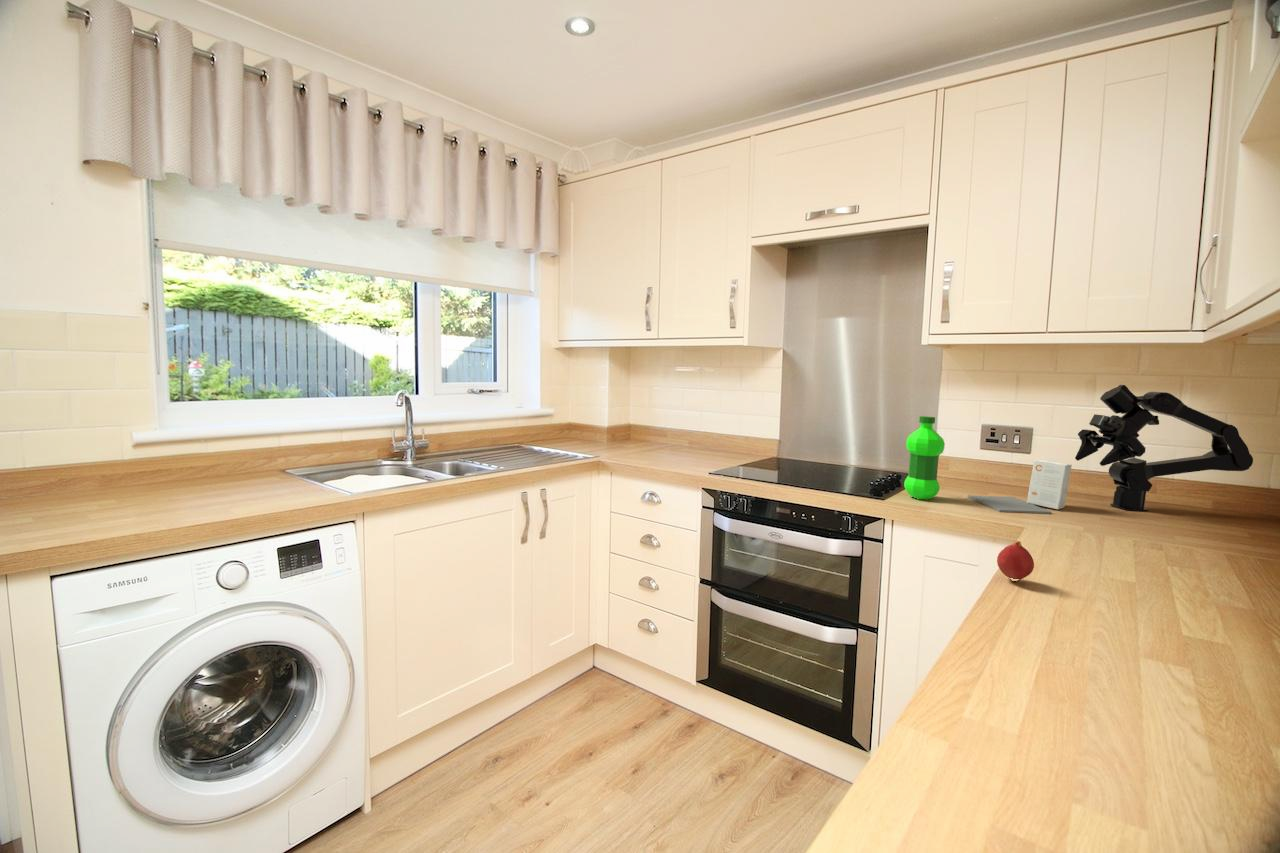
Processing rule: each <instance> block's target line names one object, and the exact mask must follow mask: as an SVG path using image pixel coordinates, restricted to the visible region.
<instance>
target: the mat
mask: <svg viewBox="0 0 1280 853" xmlns="http://www.w3.org/2000/svg"><path fill="white" fill-rule="evenodd" d="M968 497H969V499H971V500H972V501H973V500H974V501H975V502H977V503H980V504H981V503H982V505H983V506H987V507H988V508H990V509H992V508H993V510H995V511H997V512H999V511H1000V512H1001V513H1014V512H1023V513H1022V514H1041V515H1051V514H1052V511H1051V510H1047V509H1045V508H1043V507H1041V506H1039V505H1035V504H1030V503H1027V501H1024V500H1023V499H1021V498H1017V497H1015V496H999V495H998V496H996V495H995V496H994V495H993V496H992V495H975V494H974V495H969V494H968V495H967V498H968ZM1000 512H999V513H1000Z"/></svg>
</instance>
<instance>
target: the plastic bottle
mask: <svg viewBox="0 0 1280 853" xmlns="http://www.w3.org/2000/svg"><path fill="white" fill-rule="evenodd" d="M918 419H919V420H918V423H920V427H919V428H918V429H917V430H915V431H913V432H912V433H911V434H909V435H908V436H907V438H906V443H905V444H906V446H905V447H906V450H907V451H908V452H909V463H908V475H907V477H906V478H905V479H904V484H903V486H904V489H905V491H906V492H907V494H908V495H909V496H910V497H911V496H912V497H914V498H918V499H917V500H919V499H930V500H931V499H933V498H934V497H935V496H937V495H938V494H939V492H940V487H941V486H940V483H939V481H938V470H939V458H940V457H939V456H941V454H943V453H944V450H945V440H944V439H943V437H942V436H940V434H939V433H938V432H937V431H935V430H934V429H933V426H934V424H935V423H936V417H935V416H927V415H926V416H925V415H921V416H919V418H918ZM912 497H911V498H912ZM914 498H913V499H914Z"/></svg>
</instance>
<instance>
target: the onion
mask: <svg viewBox="0 0 1280 853" xmlns="http://www.w3.org/2000/svg"><path fill="white" fill-rule="evenodd" d="M1021 542H1022V541H1020V540H1016V541H1014V542H1013V543H1012V544H1010V545H1009V544H1008V545H1007V546H1005V547H1004V548H1003V549H1001V551H1000V552H999V553H998V555H997V560H996V563H997V567H998V568H999V570H1000V572H1001V573H1002V574H1003V575H1004V576H1005V577H1006V576H1007V577H1009V578H1013V579H1021V580H1022V579H1024V578H1026V577H1028V576H1029V575H1030V574H1031V573H1032V572H1034V569H1035V560H1034V559H1033V557H1032V555H1031V553H1030V551H1028V550H1027V548H1025V547H1024V546H1023V545H1022V543H1021ZM1007 577H1006V578H1007ZM1009 578H1008V579H1009Z"/></svg>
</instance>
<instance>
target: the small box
mask: <svg viewBox="0 0 1280 853" xmlns="http://www.w3.org/2000/svg"><path fill="white" fill-rule="evenodd" d="M1071 471H1072V463H1071V464H1070V463H1066V462H1065V463H1064V462H1057V461H1050V460H1045V459H1034V460H1033V465H1032V470H1031V476H1030V482H1029V488H1028V493H1027V500H1026V502H1027V503H1030V504H1033V505H1035V506H1039V507H1044V508H1045V507H1046V508H1050V509H1055V510H1061V509H1063V508H1065V506H1066V499H1067V494H1068V490H1069V483H1070V476H1071V473H1072V472H1071Z"/></svg>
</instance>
